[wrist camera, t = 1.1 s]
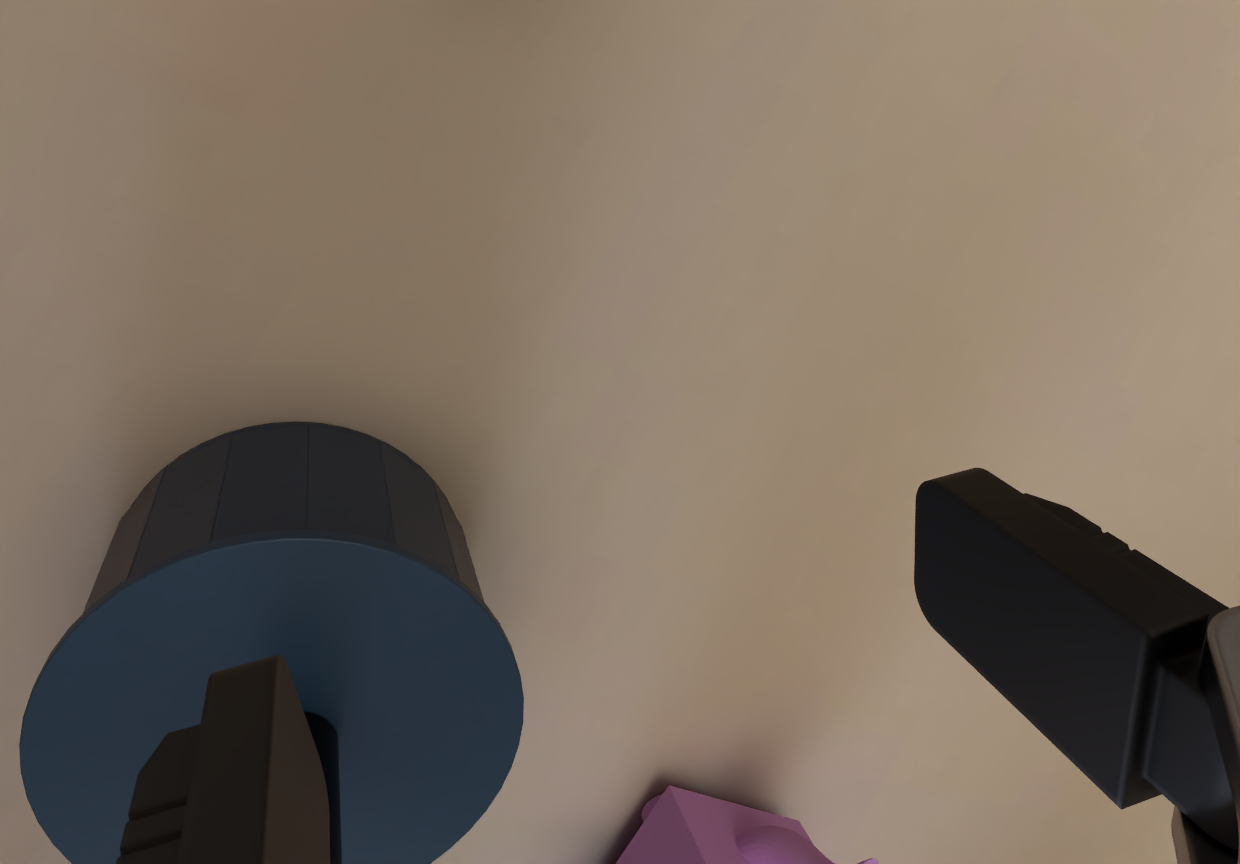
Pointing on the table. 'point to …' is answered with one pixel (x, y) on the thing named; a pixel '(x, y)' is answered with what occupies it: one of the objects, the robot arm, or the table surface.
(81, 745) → the lid
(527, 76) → the table surface
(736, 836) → the teapot
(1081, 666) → the robot arm
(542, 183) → the table surface
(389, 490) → the pot
